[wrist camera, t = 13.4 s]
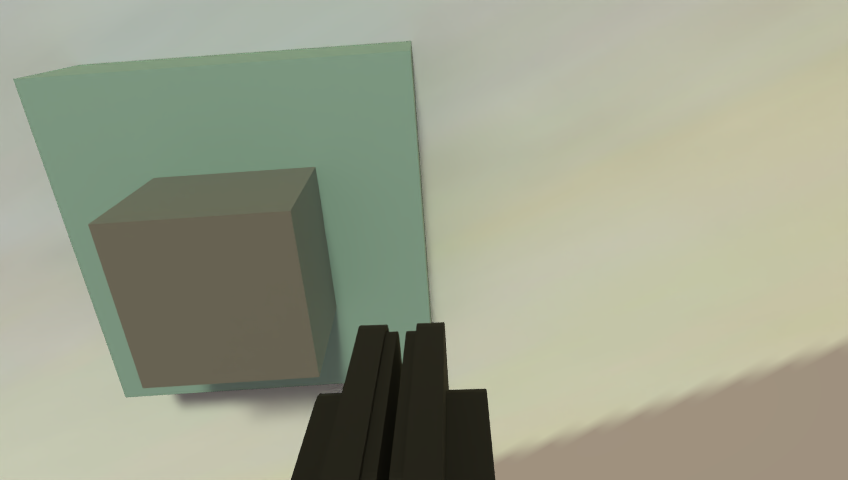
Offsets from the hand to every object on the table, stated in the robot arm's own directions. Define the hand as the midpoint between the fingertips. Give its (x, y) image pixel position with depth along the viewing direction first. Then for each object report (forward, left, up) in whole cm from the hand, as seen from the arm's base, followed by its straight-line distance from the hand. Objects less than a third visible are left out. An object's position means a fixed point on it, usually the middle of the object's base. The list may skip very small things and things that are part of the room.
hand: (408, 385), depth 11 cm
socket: (+7, +2, -17) cm, 19 cm away
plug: (+7, +2, -17) cm, 19 cm away
